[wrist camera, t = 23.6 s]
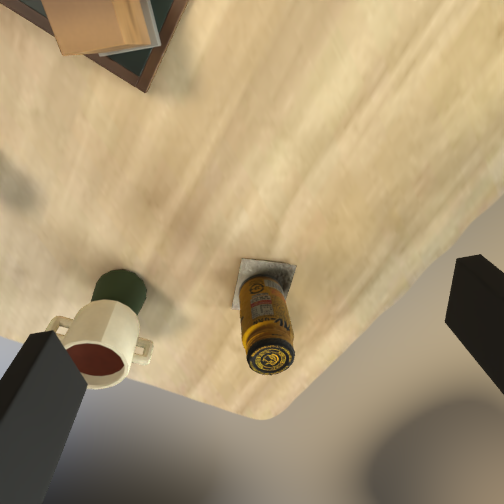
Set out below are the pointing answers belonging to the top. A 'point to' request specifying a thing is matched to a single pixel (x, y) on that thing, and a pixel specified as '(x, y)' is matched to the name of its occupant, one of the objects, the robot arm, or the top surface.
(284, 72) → the top surface
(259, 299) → the condiment
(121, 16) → the eraser
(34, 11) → the chalkboard
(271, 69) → the top surface
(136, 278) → the cream and green goblet
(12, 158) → the top surface
